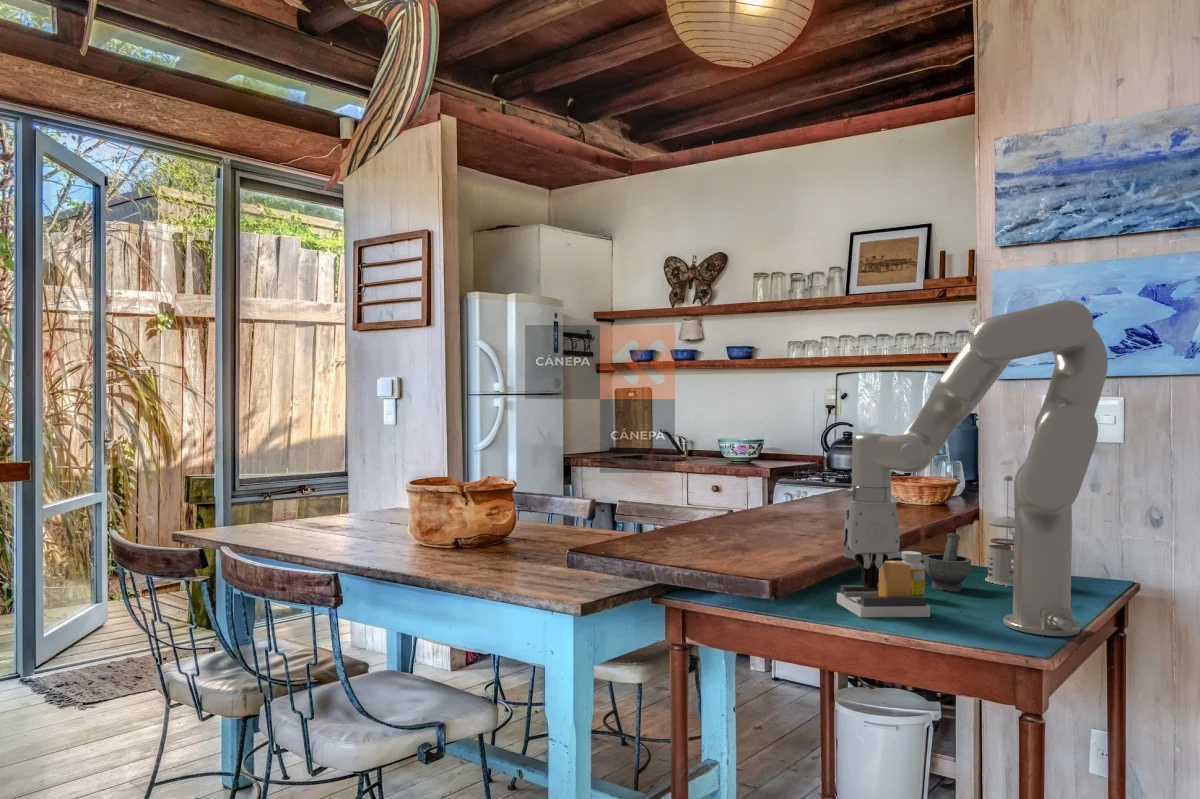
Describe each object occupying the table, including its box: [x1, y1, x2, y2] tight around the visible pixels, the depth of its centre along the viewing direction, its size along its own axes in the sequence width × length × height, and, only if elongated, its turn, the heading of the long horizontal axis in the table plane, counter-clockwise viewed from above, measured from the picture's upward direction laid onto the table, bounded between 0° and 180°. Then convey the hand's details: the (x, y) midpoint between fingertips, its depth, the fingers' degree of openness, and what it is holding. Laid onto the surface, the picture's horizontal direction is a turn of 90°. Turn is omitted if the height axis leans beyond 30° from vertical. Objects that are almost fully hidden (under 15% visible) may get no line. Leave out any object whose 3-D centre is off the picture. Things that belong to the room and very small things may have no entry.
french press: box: [984, 475, 1015, 587], centre depth 201 cm, size 10×12×25 cm
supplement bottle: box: [901, 550, 926, 598], centre depth 183 cm, size 5×5×10 cm
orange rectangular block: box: [878, 560, 911, 596], centre depth 172 cm, size 4×4×7 cm
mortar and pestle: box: [923, 532, 972, 592], centre depth 193 cm, size 11×9×12 cm
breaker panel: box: [836, 584, 931, 618], centre depth 172 cm, size 12×14×4 cm
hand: (869, 587), depth 171 cm, fingers closed
